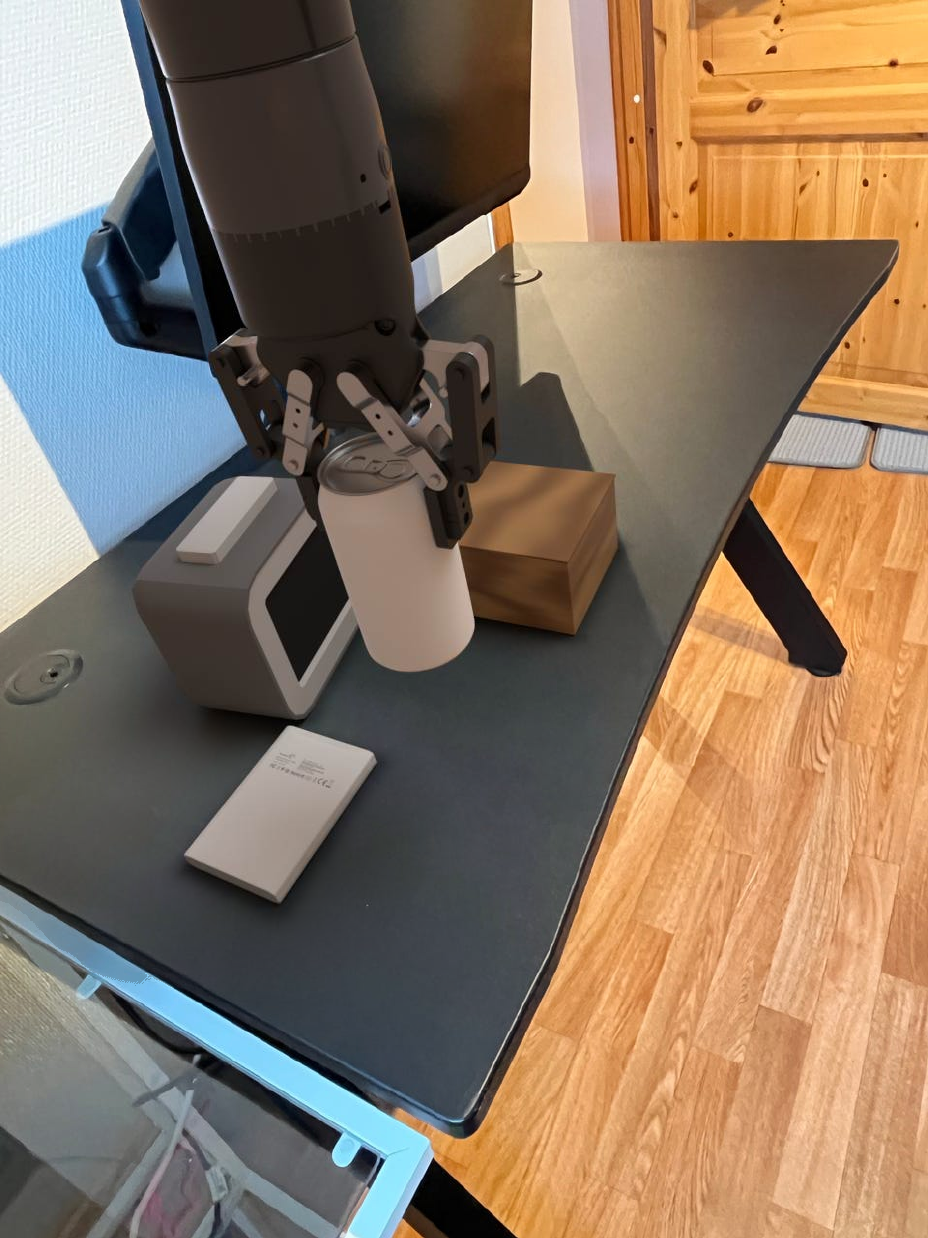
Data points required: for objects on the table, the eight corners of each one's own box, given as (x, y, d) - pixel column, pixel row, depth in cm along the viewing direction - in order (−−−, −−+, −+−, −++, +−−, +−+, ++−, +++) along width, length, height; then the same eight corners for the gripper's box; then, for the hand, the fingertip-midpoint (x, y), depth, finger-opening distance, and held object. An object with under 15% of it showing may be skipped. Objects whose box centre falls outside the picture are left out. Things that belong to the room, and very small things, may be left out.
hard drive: (190, 866, 59) (292, 736, 67) (281, 907, 56) (378, 764, 63) (181, 853, 58) (286, 722, 66) (273, 894, 55) (373, 750, 62)
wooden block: (619, 547, 77) (615, 473, 72) (575, 636, 70) (568, 561, 64) (480, 528, 83) (467, 458, 78) (425, 608, 76) (407, 537, 70)
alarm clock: (298, 735, 67) (229, 586, 56) (180, 717, 70) (95, 574, 60) (374, 599, 78) (329, 453, 67) (269, 590, 81) (210, 451, 71)
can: (441, 689, 46) (391, 508, 38) (346, 661, 49) (281, 487, 41) (495, 613, 50) (460, 434, 42) (404, 590, 52) (355, 420, 45)
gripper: (100, 230, 34) (242, 557, 45) (418, 218, 28) (491, 597, 39) (211, 169, 38) (315, 478, 49) (502, 148, 33) (546, 504, 44)
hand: (392, 530), depth 44 cm, fingers closed on can, 6 cm apart
